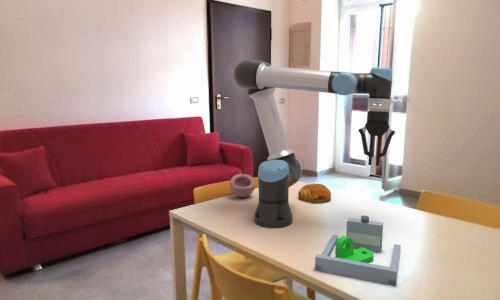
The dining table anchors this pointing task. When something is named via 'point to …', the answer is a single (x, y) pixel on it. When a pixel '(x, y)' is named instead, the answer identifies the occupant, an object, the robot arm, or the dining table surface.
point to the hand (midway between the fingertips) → (373, 174)
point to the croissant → (315, 193)
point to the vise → (358, 265)
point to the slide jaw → (365, 233)
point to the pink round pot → (242, 185)
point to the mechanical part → (352, 251)
